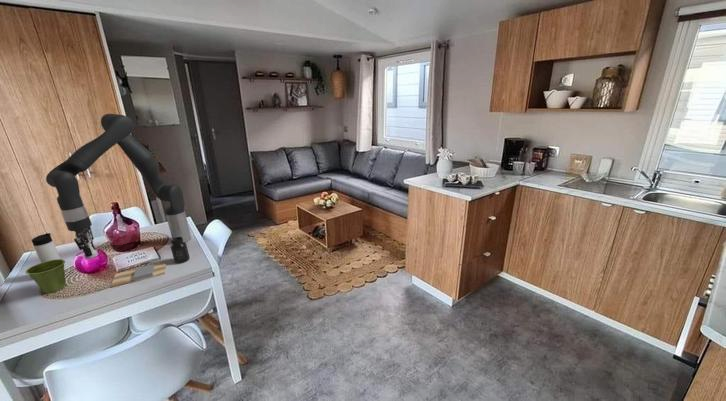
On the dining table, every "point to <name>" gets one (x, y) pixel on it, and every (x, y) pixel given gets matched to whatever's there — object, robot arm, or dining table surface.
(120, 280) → the mat
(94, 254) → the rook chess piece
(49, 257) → the travel mug
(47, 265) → the plant pot
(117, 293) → the dining table surface
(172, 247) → the supplement bottle
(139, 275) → the grey picture frame
